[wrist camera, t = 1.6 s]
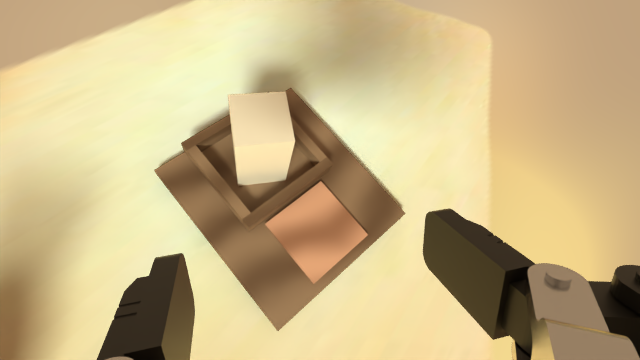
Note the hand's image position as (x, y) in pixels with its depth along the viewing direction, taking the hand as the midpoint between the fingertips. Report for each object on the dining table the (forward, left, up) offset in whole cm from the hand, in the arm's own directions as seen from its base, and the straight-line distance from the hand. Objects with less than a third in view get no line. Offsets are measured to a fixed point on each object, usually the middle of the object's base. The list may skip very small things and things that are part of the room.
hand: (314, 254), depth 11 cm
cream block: (-12, +8, -24) cm, 28 cm away
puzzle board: (-7, +8, -25) cm, 27 cm away
